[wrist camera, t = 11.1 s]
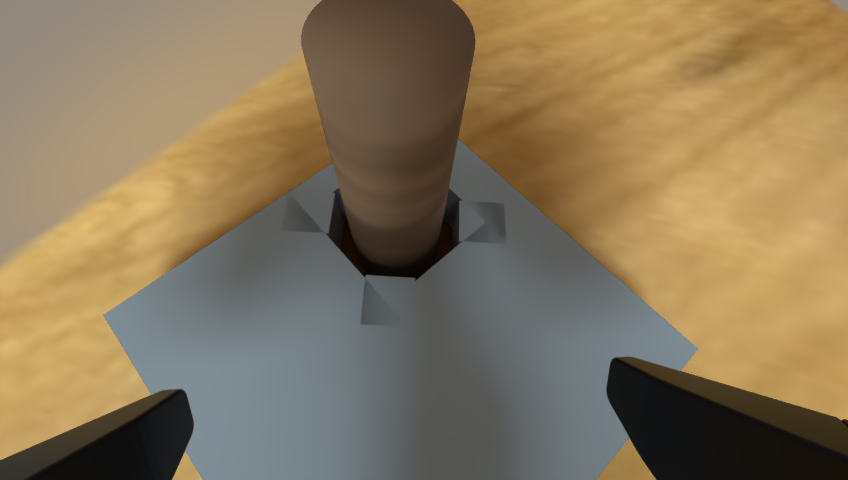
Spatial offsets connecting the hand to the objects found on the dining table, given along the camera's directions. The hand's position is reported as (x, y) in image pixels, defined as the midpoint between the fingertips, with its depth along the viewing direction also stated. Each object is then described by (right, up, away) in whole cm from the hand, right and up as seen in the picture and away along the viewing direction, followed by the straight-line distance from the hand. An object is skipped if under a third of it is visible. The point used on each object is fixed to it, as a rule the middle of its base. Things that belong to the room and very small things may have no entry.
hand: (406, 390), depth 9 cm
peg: (-1, +3, +12) cm, 12 cm away
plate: (-1, -2, +10) cm, 10 cm away
